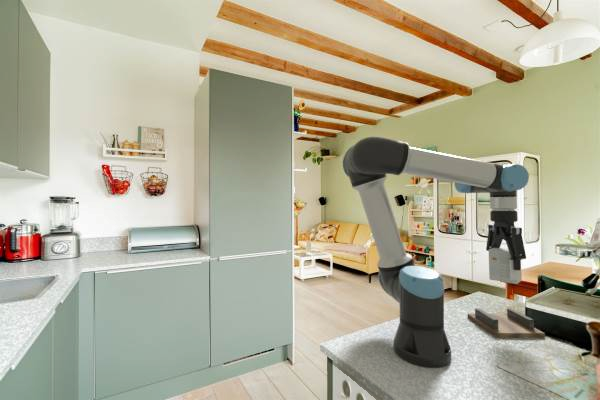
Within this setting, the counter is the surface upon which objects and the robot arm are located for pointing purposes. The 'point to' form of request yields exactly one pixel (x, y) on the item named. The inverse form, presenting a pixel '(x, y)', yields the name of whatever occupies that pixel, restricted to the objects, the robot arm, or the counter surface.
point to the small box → (500, 265)
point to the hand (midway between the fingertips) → (504, 275)
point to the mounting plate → (506, 324)
